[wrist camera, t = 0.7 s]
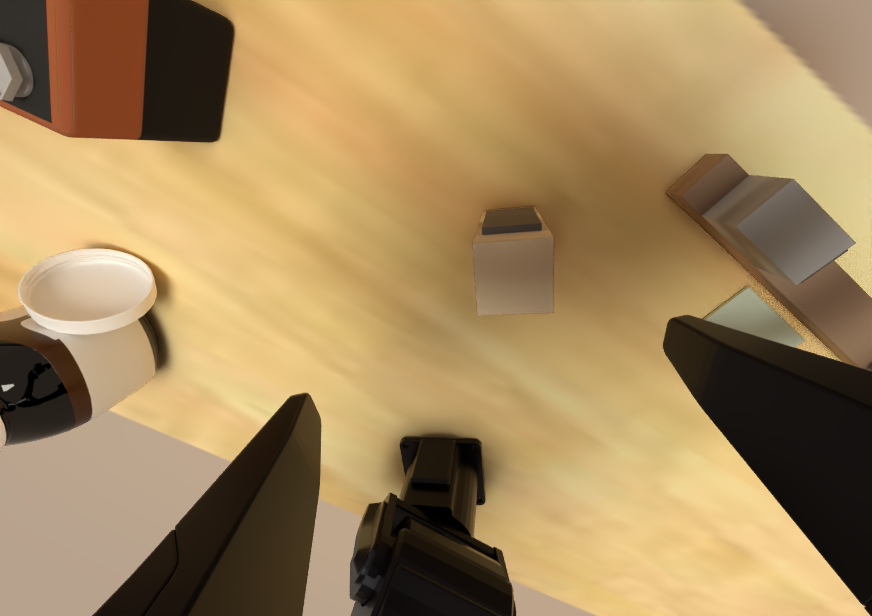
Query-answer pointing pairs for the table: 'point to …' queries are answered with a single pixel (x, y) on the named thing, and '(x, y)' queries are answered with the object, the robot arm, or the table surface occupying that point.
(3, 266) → the table surface
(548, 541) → the table surface
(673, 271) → the table surface
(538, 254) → the tan wooden block
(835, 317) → the rail
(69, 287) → the spread jar
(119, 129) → the battery
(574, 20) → the table surface
